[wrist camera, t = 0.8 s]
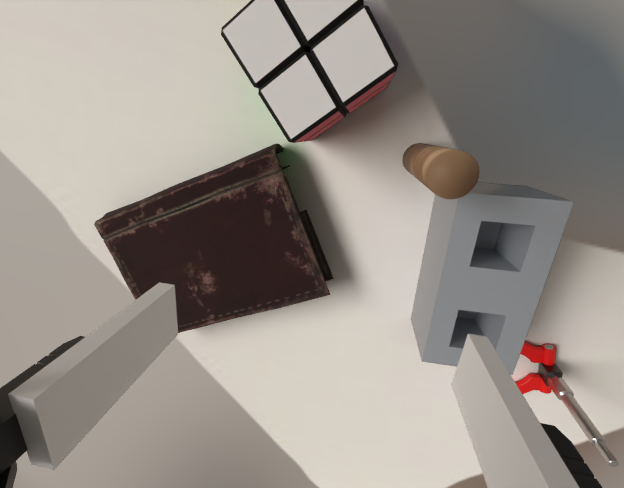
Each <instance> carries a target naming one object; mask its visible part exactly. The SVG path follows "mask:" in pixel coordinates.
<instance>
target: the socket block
mask: <svg viewBox="0 0 624 488" xmlns="http://www.w3.org/2000/svg"><path fill="white" fill-rule="evenodd" d="M573 204H574V201H570V200H567V199H564V198H561V197H558V196H555V195H552V194H549V193H546V192H543V191H540V190H537V189H534V188H531V187H527V186H519V185H506V184H505V185H504V184H493V183H480V182H477V183H476V185H475V187H474V188H473V189H472V190H471V191H470V192H469V193H468V194H466V195H465V196H463V197H461V198H457V199H444V198H441V197H439V196H437V195H436V194H435V199H434V204H433V209H432V214H431V219H430V224H429V229H428V234H427V239H426V245H425V250H424V255H423V260H422V265H421V270H420V275H419V280H418V285H417V291H416V296H415V301H414V306H413V311H412V316H411V321H412V325H413V329H414V333H415V337H416V341H417V344H418V348H419V352H420V356H421V360H422V361H423V362H429V363H436V364H443V365H450V366H458V363H459V360H460V357H461V354H462V350H463V347H464V344H465V341H466V338H467V335H468V334H474V335H480V336H486V337H488V339H489V340H490V342H491V344H492V345H493V347H494V349H495V350H496V352H497V354H498V355H499V357H500V358H501V360H502V362H503V363H504V365H505V367H506V368H507V370H508V372H509V373H510V374H511V375H513V372H514V369H515V367H516V364H517V361H518V358H519V355H520V353H521V350H522V347H523V344H524V341H525V338H526V336H527V333H528V330H529V327H530V324H531V322H532V319H533V316H534V313H535V310H536V308H537V305H538V302H539V299H540V296H541V293H542V291H543V288H544V285H545V282H546V279H547V277H548V274H549V271H550V268H551V265H552V263H553V260H554V257H555V254H556V251H557V249H558V246H559V243H560V240H561V237H562V234H563V231H564V229H565V226H566V223H567V220H568V218H569V215H570V212H571V209H572V206H573Z"/></svg>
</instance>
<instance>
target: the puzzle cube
mask: <svg viewBox="0 0 624 488" xmlns="http://www.w3.org/2000/svg"><path fill="white" fill-rule="evenodd" d="M221 35H222V37H223V38H224V40H225V42H226V43H227V45H228V46H229V48H230V49H231V51H232V53H233V54H234V56H235V57H236V59H237V61H238V62H239V64H240V65H241V67H242V69H243V70H244V72H245V73H246V75H247V76H248V78H249V80H250V81H251V83H252V84H253V86H254V87H256V88H258V89H259V95H260V97H261V99H262V100H263V102H264V103H265V105H266V107H267V108H268V110H269V111H270V113H271V114H272V116H273V118H274V119H275V121H276V122H277V124H278V126H279V127H280V129H281V130H282V132H283V134H284V135H285V137H286V138H287V140H288V141H289V142H292V143H296V142H303V141H311V140H313V139H314V138H315V137H317V136H318V135H320V134H321V133H323V132H324V131H325V130H327V129H328V128H330V127H331V126H333V125H334V124H335V123H337V122H338V121H340V120H341V119H343V118H344V117H345V114H346V113H351V112H353V111H354V110H356V109H357V108H358V107H360V106H361V105H363V104H364V103H366V102H367V101H368V100H370V99H371V98H373V97H374V96H376V95H377V94H378V93H380V92H381V91H383V90H384V89H386V88H387V86H388V85H389V83H390V81H391V79H392V78H393V76H394V74H395V72H396V70H397V66H398V63H397V61H396V59H395V57H394V55H393V53H392V51H391V49H390V47H389V45H388V44H387V42H386V40H385V38H384V36H383V34H382V32H381V30H380V28H379V26H378V24H377V22H376V20H375V18H374V17H373V15H372V13H371V11H370V9H369V7H368V6H364V0H251V1H250V2H249V3H248V4H247V5H246V6H245V7H244V8H243V9H241V10H240V11H239V12H238V13H237V14H236V15H235V16H234V17H233V18H232V19H231V20H230V21H229V22H227V23H226V24H225V25H224V26H223V27H222V31H221Z"/></svg>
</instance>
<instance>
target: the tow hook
mask: <svg viewBox="0 0 624 488" xmlns="http://www.w3.org/2000/svg"><path fill="white" fill-rule="evenodd" d="M520 354H522V355H525V356H526V357H527V358H529V359H530V361H531V362H533V363H539V370H538V374H529V375H527V376H526V377H525V378H524V379H522V380H520V381H518V382H515V383H516V385H517V386H518V388H519V390H520V391H521V393H522V394H524V393H527V392H529V391H532V390H540V391H541V392H543V393H551V390H553V392H554V393H555V395H556V396H557V398H558V399H560V400H562V401H563V403H564V404H565V405H566V407H567V408H568V410H569V411H570V413H571V414H572V416H573V417H574V419H575V420H576V422H577V423H578V424H579V426H580V427H581V429H582V430H583V432H584V433H585V435H586V436H587V438H588V439H589V441H590V442H591V444H592V445H594V446H596V447H597V448H598V450H599V451H600V453H601V454H602V455H603V457H604V458H605V460H606V461H607V463H608V464H609V465H610V466H612V467H616V466H618V464H619V463H618V461H617V460H616V458H615V457H614V456H613V454H612V453H611V451H610V450H609V449H608V447H607V446H606V445H605V443H606V441H605V439H604V438H603V436H602V435H601V434H600V432H599V431H598V430H597V428H596V427H595V426H594V424H593V423H592V422H591V420H590V419H589V417H588V416H587V415H586V413H585V412H584V411H583V409H582V408H581V407H580V405H579V404H578V402H577V401H576V400H575V398H574V397H573V396H574V394H573V392H572V390H571V389H570V388H569V386H568V385H567V384H566V382H565V381H564V380H563V378H562V374H563V373H562V372H561V370H560V369H559V368H558V366H557V365H556V364H555V355H556V347H555V346H553V345H551V344H543V345H542V347H534V346H533V345H531V344H529V343H527V342H524V344H523V347H522V350H521V353H520Z"/></svg>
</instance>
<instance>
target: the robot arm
mask: <svg viewBox="0 0 624 488" xmlns="http://www.w3.org/2000/svg"><path fill="white" fill-rule="evenodd" d="M177 335H178V325H177V311H176V297H175V285H172V284H166V283H160V282H159V283H158V284H157V285H155V286H154V287H152V288H151V289H150V290H148V291H147V292H146V293H144V294H143V295H142V296H140V297H139V298H138V299H136V300H135V301H134V302H132V303H131V304H129V305H128V306H127V307H125V308H124V309H123V310H121V311H120V312H119V313H117V314H116V315H115V316H113V317H112V318H110V319H109V320H108V321H107V322H105V323H104V324H102V325H101V326H100V327H98V328H97V329H96V330H94V331H93V332H92V333H90V334H89V335H88V336H86V337H83V336H79V337H77V338H75V339H73V340H71V341H68V342H66V343H64V344H62V345H61V346H60V347H58V348H57V349H55V350H54V351H52V352H51V353H50V354H49V356H45V357H44V358H42V359H41V360H40V361H38V362H37V364H36V365H35V364H34V365H33V366H31V367H30V368H28V369H27V370H25V371H24V372H23V373H21V374H20V375H19V376H17V377H16V378H14V379H13V380H11V381H10V382H9V383H7V384H6V385H4V386H3V387H1V388H0V488H13V484H14V479H15V476H16V472H17V463H16V460H17V459H18V458H19V457H20V456H21V455H22V454H23V453H24V452H26V451H27V453H28V456H29V459H30V462H31V464H32V465H37V466H41V467H45V468H49V469H53V470H54V469H55V468H56V467H57V466H58V465H59V464H60V463H61V462H62V461H63V460H64V458H65V457H66V456H67V455H68V454H69V453H70V452H71V451H72V450H73V449H74V447H75V446H76V445H77V444H78V443H79V442H80V441H81V440H82V439H83V438H84V437H85V435H86V434H87V433H88V432H89V431H90V430H91V429H92V428H93V427H94V426H95V425H96V423H97V422H98V421H99V420H100V419H101V418H102V417H103V416H104V415H105V414H106V413H107V411H108V410H109V409H110V408H111V407H112V406H113V405H114V404H115V402H117V400H118V399H119V398H120V397H121V396H122V395H123V394H124V393H125V392H126V391H127V390H128V388H129V387H130V386H131V385H132V384H133V383H134V382H135V381H136V380H137V379H138V377H139V376H140V375H141V374H142V373H143V372H144V371H145V370H146V369H147V367H149V365H150V364H151V363H152V362H153V361H154V360H155V359H156V358H157V357H158V356H159V354H160V353H161V352H162V351H163V350H164V349H165V348H166V347H167V346H168V345H169V344H170V342H171V341H172V340H173V339H174V338H175V337H176V336H177ZM451 385H452V387H453V390H454V393H455V396H456V399H457V402H458V404H459V407H460V410H461V413H462V416H463V419H464V421H465V424H466V427H467V430H468V433H469V436H470V438H471V441H472V444H473V447H474V450H475V453H476V455H477V458H478V461H479V464H480V467H481V470H482V472H483V475H484V478H485V481H486V484H487V487H488V488H602V487H601V485H600V484H599V482H598V481H597V479H594V475H593V473H592V472H591V470H590V469H589V467H588V466H587V464H584V460H583V458H582V457H581V455H580V454H579V453H578V451H577V449H576V448H575V447H574V445H573V444H572V442H571V441H570V440H569V439H568V438H567V437H566V436H565V435H563V434H562V433H561V432H560V431H559V430H558V429H557V428H556V427H555V426H552V425H547V424H542V423H540V422H539V421H538V419H537V417H536V416H535V414H534V413H533V411H532V409H531V408H530V406H529V404H528V403H527V401H526V399H525V398H524V396H523V395H522V393H521V391H520V390H519V388H518V386H517V385H516V383H515V381H514V380H513V378H512V377H511V375H510V373H509V372H508V370H507V368H506V367H505V365H504V363H503V362H502V360H501V358H500V357H499V355H498V354H497V352H496V350H495V349H494V347H493V345H492V344H491V342H490V340H489V339H488V337H486V336H480V335H474V334H468V335H467V338H466V341H465V344H464V347H463V350H462V354H461V357H460V360H459V363H458V366H457V369H456V372H455V375H454V378H453V381H452V384H451Z"/></svg>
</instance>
